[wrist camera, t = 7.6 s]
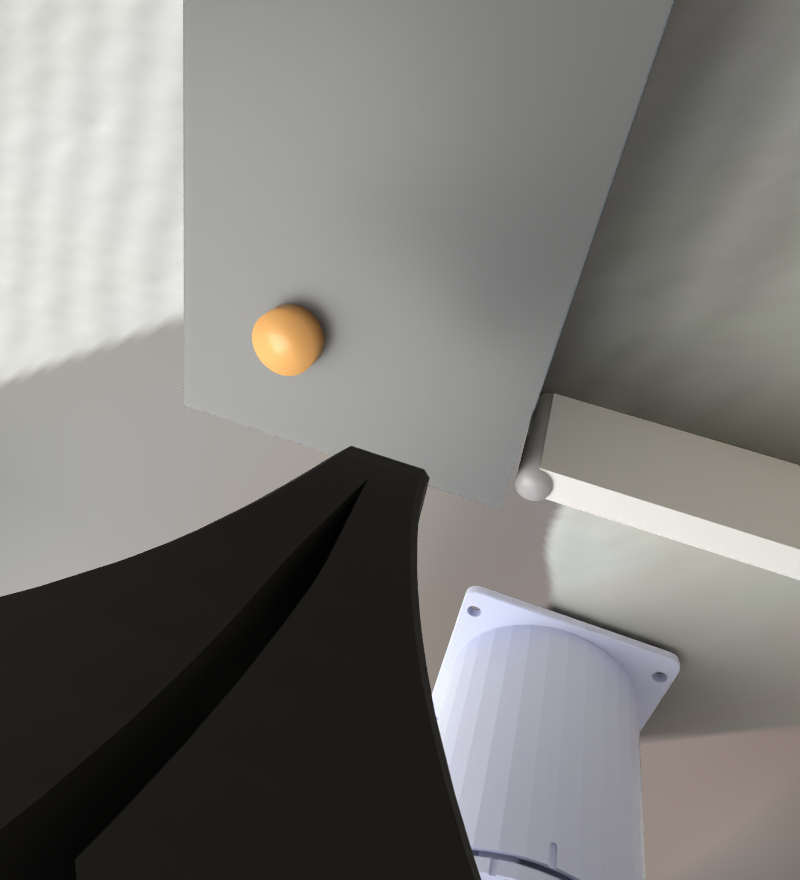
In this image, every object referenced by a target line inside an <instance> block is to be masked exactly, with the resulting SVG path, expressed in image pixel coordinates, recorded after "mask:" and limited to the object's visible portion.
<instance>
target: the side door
mask: <svg viewBox="0 0 800 880" xmlns="http://www.w3.org/2000/svg"><path fill="white" fill-rule="evenodd" d="M515 486H516V489H517V491H518V493H519V494H520V495H521V496H522V497H524V498H525V499H528V500H532V501H539V500H543V499H548V500H551V501H554V502H557V503H560V504H563V505H566V506H569V507H573V508H576V509H579V510H582V511H585V512H588V513H591V514H594V515H598V516H601V517H604V518H607V519H610V520H613V521H616V522H619V523H622V524H626V525H629V526H632V527H635V528H638V529H641V530H644V531H647V532H651V533H654V534H657V535H660V536H663V537H666V538H669V539H672V540H675V541H679V542H682V543H685V544H688V545H691V546H694V547H697V548H700V549H704V550H707V551H710V552H713V553H716V554H719V555H722V556H725V557H728V558H732V559H735V560H738V561H741V562H744V563H747V564H750V565H753V566H757V567H760V568H763V569H766V570H769V571H772V572H775V573H778V574H781V575H785V576H788V577H791V578H794V579H797V580H800V465H797V464H793V463H790V462H787V461H783V460H780V459H776V458H773V457H770V456H766V455H763V454H759V453H756V452H753V451H749V450H746V449H742V448H739V447H736V446H732V445H729V444H725V443H722V442H719V441H715V440H712V439H708V438H705V437H702V436H698V435H695V434H691V433H688V432H685V431H681V430H678V429H674V428H671V427H668V426H664V425H661V424H657V423H654V422H651V421H647V420H644V419H640V418H637V417H634V416H630V415H627V414H623V413H620V412H616V411H613V410H610V409H606V408H603V407H599V406H596V405H593V404H589V403H586V402H582V401H579V400H576V399H572V398H569V397H565V396H562V395H559V394H555V393H554V394H552V393H546V394H542V395H540V396H539V399H538V402H537V405H536V407H535V410H533V413H532V416H531V420H530V424H529V428H528V432H527V437H526V441H525V445H524V449H523V453H522V458H521V461H520V465H519V470H518V473H517V478H516V482H515Z"/></svg>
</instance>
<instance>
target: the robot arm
mask: <svg viewBox="0 0 800 880" xmlns="http://www.w3.org/2000/svg"><path fill="white" fill-rule="evenodd" d="M429 479H430V478H429V476H428V474H427V473H426V471H425V469H422V468H419V467H416V466H412V465H409V464H406V463H403V462H400V461H397V460H394V459H391V458H388V457H384V456H381V455H378V454H375V453H372V452H369V451H366V450H363V449H360V448H356V447H353V446H350V447H348V448H346V449H344V450H342V451H340V452H339V453H337V454H335V455H334V456H332V457H330V458H329V459H327V460H325V461H324V462H322V463H320V464H319V465H317V466H316V467H314V468H312V469H311V470H309V471H307V472H306V473H304V474H302V475H300V476H299V477H297V478H295V479H294V480H292V481H290V482H289V483H287V484H285V485H283V486H282V487H280V488H278V489H276V490H274V491H273V492H271V493H269V494H267V495H265V496H264V497H262V498H260V499H258V500H257V501H255V502H253V503H251V504H249V505H247V506H245V507H243V508H241V509H239V510H237V511H236V512H233V513H231V514H229V515H227V516H225V517H223V518H221V519H219V520H217V521H215V522H213V523H211V524H209V525H207V526H204V527H203V528H200V529H198V530H196V531H194V532H192V533H189V534H187V535H185V536H183V537H180V538H178V539H176V540H174V541H171V542H169V543H166V544H164V545H161V546H158V547H156V548H153V549H151V550H148V551H145V552H143V553H140V554H138V555H135V556H133V557H130V558H127V559H124V560H122V561H118V562H116V563H113V564H109V565H106V566H103V567H100V568H97V569H93V570H90V571H87V572H84V573H81V574H78V575H75V576H72V577H68V578H65V579H62V580H59V581H56V582H52V583H49V584H46V585H43V586H40V587H36V588H33V589H29V590H25V591H21V592H17V593H13V594H10V595H6V596H2V597H0V880H646V879H645V856H644V834H643V811H642V788H641V766H640V742H639V733H640V732H641V730H642V729H643V727H644V725H645V724H646V722H647V721H648V719H649V718H650V716H651V715H652V713H653V712H654V710H655V709H656V707H657V706H658V704H659V702H660V701H661V699H662V698H663V696H664V695H665V693H666V692H667V690H668V689H669V687H670V686H671V684H672V683H673V681H674V680H675V678H676V676H677V675H678V673H679V671H680V662H679V659H678V657H677V656H676V655H675V654H673V653H671V652H669V651H666V650H663V649H660V648H657V647H654V646H651V645H648V644H646V643H643V642H640V641H637V640H634V639H631V638H628V637H625V636H623V635H620V634H617V633H614V632H611V631H608V630H605V629H602V628H600V627H597V626H594V625H591V624H588V623H585V622H582V621H579V620H577V619H574V618H571V617H568V616H565V615H562V614H559V613H557V612H554V611H551V610H548V609H545V608H542V607H539V606H536V605H533V604H531V603H527V602H524V601H522V600H519V599H516V598H513V597H510V596H508V595H505V594H502V593H499V592H496V591H493V590H490V589H487V588H485V587H481V586H472V587H470V588H469V589H468V590H467V591H466V594H465V597H464V600H463V603H462V606H461V609H460V612H459V615H458V618H457V621H456V624H455V627H454V630H453V633H452V636H451V639H450V642H449V645H448V648H447V651H446V654H445V657H444V660H443V663H442V666H441V669H440V672H439V675H438V678H437V681H436V684H435V687H434V690H433V693H432V694H431V689H430V683H429V679H428V672H427V666H426V659H425V653H424V646H423V639H422V631H421V622H420V612H419V598H418V581H417V534H418V522H419V518H420V514H421V510H422V506H423V502H424V498H425V494H426V490H427V486H428V482H429ZM471 606H476V607H478V608H479V609H478V610H477V609H473V608H472V607H471ZM655 672H662V673H663V674H657V673H655Z"/></svg>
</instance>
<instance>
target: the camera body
mask: <svg viewBox="0 0 800 880" xmlns="http://www.w3.org/2000/svg"><path fill="white" fill-rule="evenodd" d="M674 1H675V0H183V135H184V406H185V407H188V408H191V409H195V410H197V411H200V412H203V413H207V414H209V415H213V416H216V417H219V418H222V419H225V420H228V421H231V422H234V423H237V424H240V425H243V426H246V427H249V428H253V429H256V430H259V431H262V432H265V433H268V434H271V435H274V436H277V437H280V438H283V439H286V440H289V441H292V442H295V443H298V444H301V445H305V446H308V447H311V448H313V449H316V450H320V451H323V452H326V453H329V454H332V455H335V454H337V453H339V452H340V451H342V450H344V449H346V448H348V447H350V446H353V447H356V448H360V449H363V450H366V451H369V452H372V453H375V454H378V455H381V456H384V457H388V458H391V459H394V460H397V461H400V462H403V463H406V464H409V465H412V466H416V467H419V468H422V469H425V471H426V473H427V474H428V476H429V478H430V479H429V482H428V486H430V487H433V488H436V489H439V490H442V491H445V492H448V493H451V494H454V495H457V496H460V497H463V498H466V499H469V500H473V501H476V502H479V503H482V504H485V505H488V506H491V507H494V508H497V509H500V507H501V504H502V501H503V498H504V495H505V492H506V489H507V486H508V483H509V480H510V478H511V475H512V471H513V469H514V466H515V463H516V460H517V457H518V454H519V451H520V448H521V445H522V442H523V439H524V436H525V434H526V431H527V428H528V425H529V422H530V419H531V416H532V413H533V410H535V407H536V405H537V402H538V399H539V396H540V393H541V390H542V387H543V384H544V381H545V378H546V375H547V372H548V369H549V367H550V364H551V361H552V358H553V355H554V352H555V349H556V346H557V343H558V340H559V337H560V334H561V331H562V329H563V326H564V323H565V320H566V317H567V314H568V311H569V308H570V305H571V302H572V299H573V296H574V294H575V291H576V288H577V285H578V282H579V279H580V276H581V273H582V270H583V267H584V264H585V261H586V258H587V256H588V253H589V250H590V247H591V244H592V241H593V238H594V235H595V232H596V229H597V226H598V223H599V220H600V218H601V215H602V212H603V209H604V206H605V203H606V200H607V197H608V194H609V191H610V188H611V185H612V182H613V180H614V177H615V174H616V171H617V168H618V165H619V162H620V159H621V156H622V153H623V150H624V147H625V144H626V142H627V139H628V136H629V133H630V130H631V127H632V124H633V121H634V118H635V115H636V112H637V109H638V106H639V104H640V101H641V98H642V95H643V92H644V89H645V86H646V83H647V80H648V77H649V74H650V71H651V69H652V66H653V63H654V60H655V57H656V54H657V51H658V48H659V45H660V42H661V39H662V36H663V33H664V31H665V28H666V25H667V22H668V19H669V16H670V13H671V10H672V7H673V4H674Z"/></svg>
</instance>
